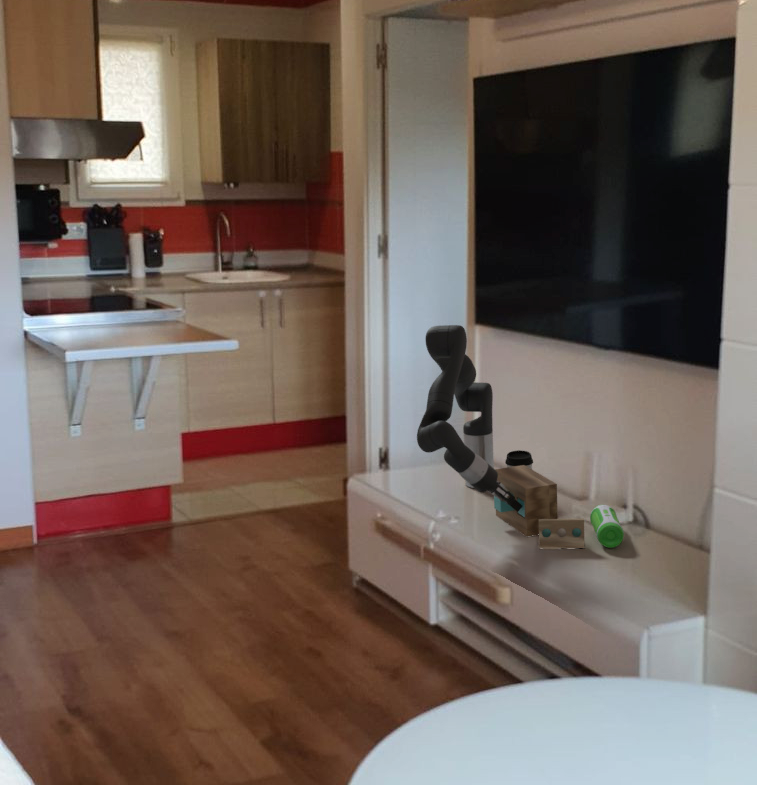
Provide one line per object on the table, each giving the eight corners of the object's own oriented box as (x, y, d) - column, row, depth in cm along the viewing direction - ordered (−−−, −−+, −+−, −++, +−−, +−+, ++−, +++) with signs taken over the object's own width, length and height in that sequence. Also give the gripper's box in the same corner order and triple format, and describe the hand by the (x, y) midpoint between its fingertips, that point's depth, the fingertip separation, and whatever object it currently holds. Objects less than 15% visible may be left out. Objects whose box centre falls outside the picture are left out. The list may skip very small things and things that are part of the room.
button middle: (500, 512, 329) (500, 497, 328) (494, 508, 333) (493, 493, 332) (520, 509, 331) (519, 494, 330) (513, 504, 335) (513, 490, 334)
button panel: (526, 537, 324) (525, 488, 321) (496, 515, 343) (494, 469, 340) (557, 531, 326) (556, 483, 323) (525, 510, 346) (524, 465, 343)
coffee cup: (533, 496, 358) (532, 449, 355) (534, 505, 350) (533, 457, 346) (506, 497, 359) (504, 450, 356) (506, 506, 351) (505, 458, 347)
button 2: (524, 517, 324) (524, 502, 323) (518, 512, 328) (517, 497, 327) (544, 514, 325) (544, 499, 324) (537, 509, 330) (537, 494, 329)
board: (539, 542, 319) (538, 515, 317) (583, 542, 317) (583, 514, 315) (539, 549, 314) (538, 521, 312) (584, 548, 312) (584, 520, 311)
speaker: (625, 549, 311) (624, 522, 309) (597, 550, 311) (597, 523, 309) (615, 527, 328) (615, 502, 326) (589, 528, 328) (588, 503, 326)
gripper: (495, 467, 313) (538, 504, 319) (476, 455, 325) (517, 491, 331) (478, 489, 312) (520, 525, 319) (459, 476, 325) (500, 511, 331)
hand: (519, 508), depth 325 cm, fingers closed
